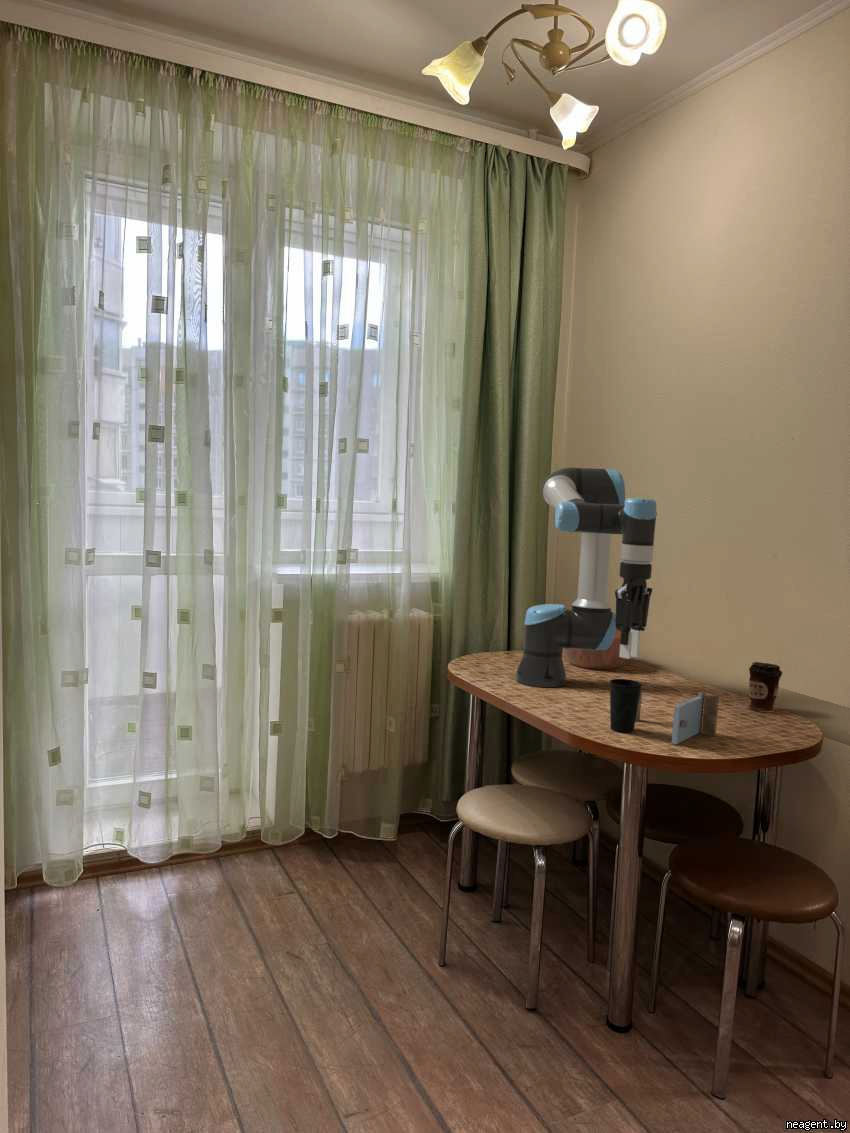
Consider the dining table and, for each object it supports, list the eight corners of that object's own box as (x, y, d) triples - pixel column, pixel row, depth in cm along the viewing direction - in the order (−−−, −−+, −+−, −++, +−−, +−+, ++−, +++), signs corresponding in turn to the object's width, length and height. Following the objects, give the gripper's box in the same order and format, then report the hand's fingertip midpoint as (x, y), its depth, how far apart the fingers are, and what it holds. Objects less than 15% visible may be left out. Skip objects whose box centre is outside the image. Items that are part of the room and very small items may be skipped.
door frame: (626, 719, 222) (629, 681, 221) (629, 717, 224) (632, 680, 223) (713, 736, 211) (717, 696, 210) (715, 734, 213) (719, 695, 212)
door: (696, 731, 215) (700, 692, 214) (706, 733, 214) (709, 694, 213) (671, 744, 203) (674, 702, 202) (681, 746, 202) (684, 705, 201)
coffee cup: (762, 715, 234) (766, 668, 233) (738, 707, 241) (742, 661, 240) (784, 712, 238) (788, 666, 237) (760, 704, 245) (764, 660, 244)
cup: (602, 724, 216) (606, 678, 215) (631, 725, 217) (635, 679, 216) (611, 734, 209) (615, 685, 207) (642, 734, 209) (646, 686, 208)
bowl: (543, 664, 285) (546, 630, 284) (575, 653, 305) (578, 621, 304) (614, 677, 271) (617, 641, 270) (643, 665, 291) (646, 632, 290)
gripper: (640, 559, 217) (632, 650, 219) (604, 561, 206) (597, 657, 208) (666, 562, 211) (659, 656, 214) (631, 564, 200) (624, 663, 203)
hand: (628, 656), depth 211 cm, fingers open, 3 cm apart
